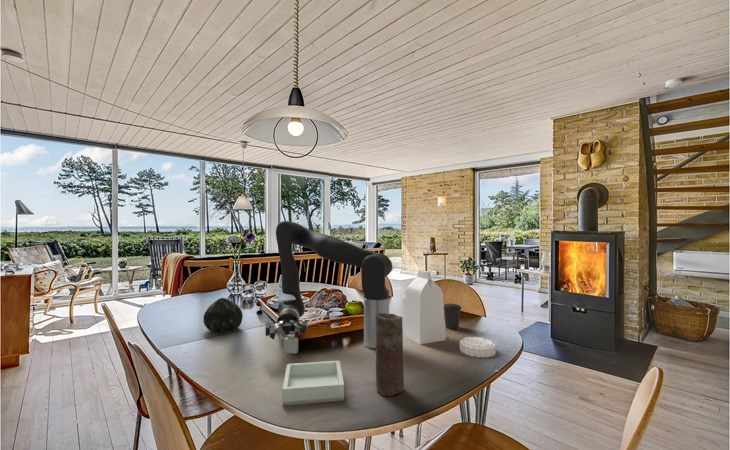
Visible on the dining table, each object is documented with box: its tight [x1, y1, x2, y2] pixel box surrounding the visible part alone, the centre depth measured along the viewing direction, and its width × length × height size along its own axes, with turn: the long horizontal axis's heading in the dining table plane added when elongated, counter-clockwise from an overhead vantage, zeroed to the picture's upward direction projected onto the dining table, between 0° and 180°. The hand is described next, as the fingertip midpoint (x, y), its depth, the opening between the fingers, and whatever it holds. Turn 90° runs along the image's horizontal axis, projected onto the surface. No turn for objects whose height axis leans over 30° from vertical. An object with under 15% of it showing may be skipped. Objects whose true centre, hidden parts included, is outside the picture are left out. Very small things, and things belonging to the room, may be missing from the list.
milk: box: [403, 269, 446, 345], centre depth 130 cm, size 12×12×26 cm
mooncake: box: [459, 336, 497, 359], centre depth 116 cm, size 12×12×4 cm
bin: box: [281, 360, 345, 407], centre depth 89 cm, size 15×15×4 cm
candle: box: [375, 313, 405, 397], centre depth 88 cm, size 8×7×20 cm
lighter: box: [275, 325, 299, 355], centre depth 104 cm, size 7×2×8 cm, turn 80°
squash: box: [203, 297, 244, 335], centre depth 138 cm, size 14×15×15 cm
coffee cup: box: [444, 303, 462, 330], centre depth 143 cm, size 8×8×10 cm
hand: (284, 335), depth 102 cm, fingers closed on lighter, 6 cm apart
